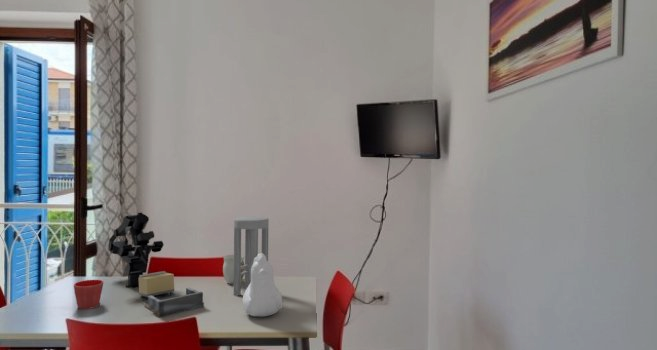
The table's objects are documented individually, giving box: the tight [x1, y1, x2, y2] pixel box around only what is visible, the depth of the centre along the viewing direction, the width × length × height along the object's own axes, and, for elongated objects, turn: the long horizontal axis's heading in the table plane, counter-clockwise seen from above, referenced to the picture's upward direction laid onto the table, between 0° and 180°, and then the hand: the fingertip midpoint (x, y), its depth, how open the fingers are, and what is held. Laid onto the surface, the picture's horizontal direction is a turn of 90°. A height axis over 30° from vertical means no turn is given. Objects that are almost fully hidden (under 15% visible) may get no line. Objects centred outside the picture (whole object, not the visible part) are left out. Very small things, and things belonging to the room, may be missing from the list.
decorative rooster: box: [242, 252, 283, 317], centre depth 170 cm, size 25×16×25 cm, turn 3°
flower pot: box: [73, 279, 104, 310], centre depth 174 cm, size 11×11×10 cm
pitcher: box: [222, 254, 245, 285], centre depth 213 cm, size 11×18×14 cm, turn 174°
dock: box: [141, 287, 205, 318], centre depth 179 cm, size 29×19×7 cm, turn 45°
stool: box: [233, 216, 270, 297], centre depth 194 cm, size 16×16×35 cm
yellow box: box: [138, 270, 175, 298], centre depth 186 cm, size 10×12×10 cm
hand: (146, 263), depth 194 cm, fingers closed
